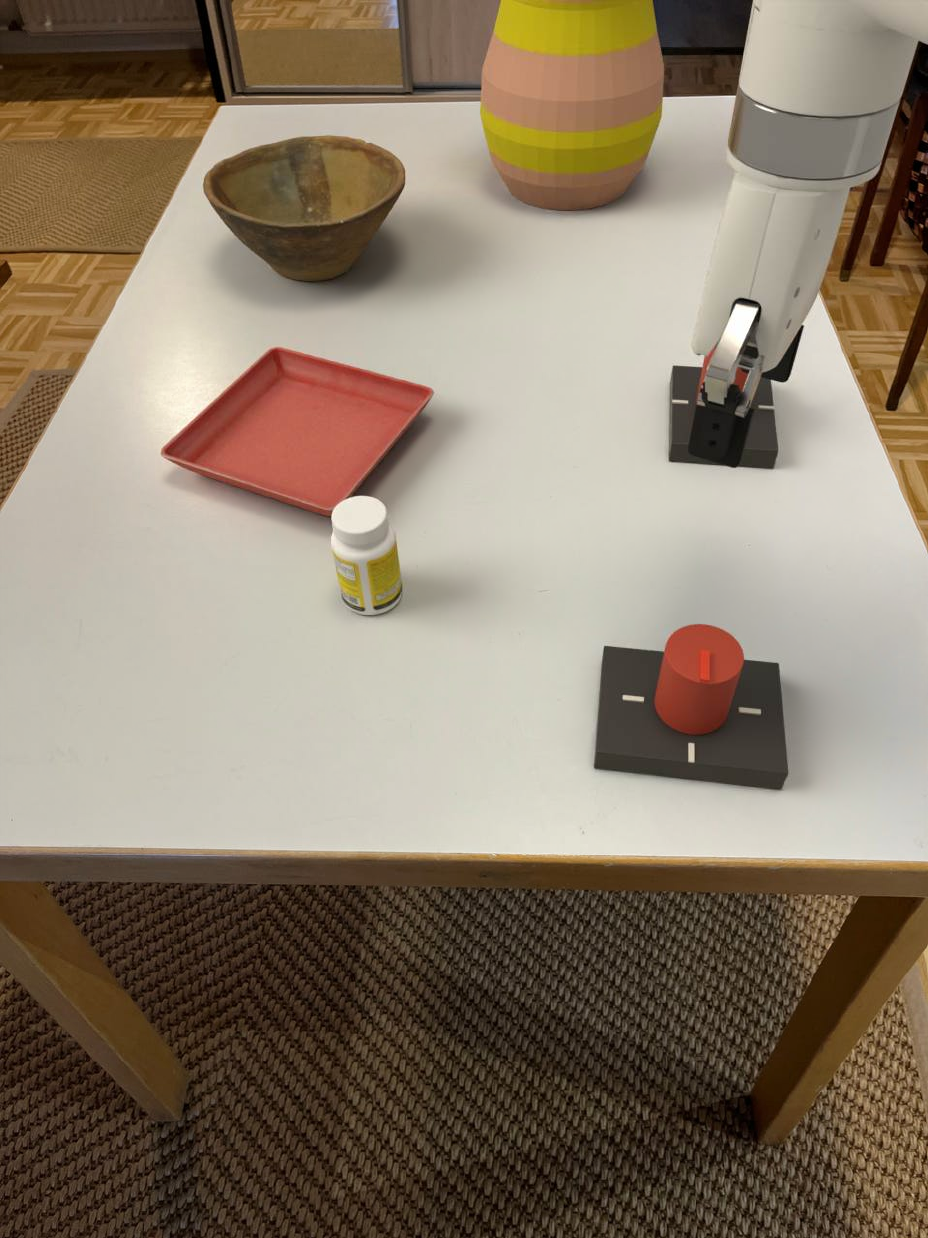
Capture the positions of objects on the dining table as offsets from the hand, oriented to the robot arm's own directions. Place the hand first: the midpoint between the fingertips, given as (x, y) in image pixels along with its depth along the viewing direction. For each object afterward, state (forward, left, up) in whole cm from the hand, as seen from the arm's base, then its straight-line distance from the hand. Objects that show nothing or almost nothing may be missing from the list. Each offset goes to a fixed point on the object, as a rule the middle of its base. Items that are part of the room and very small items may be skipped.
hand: (740, 415), depth 58 cm
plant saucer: (+35, -14, -17) cm, 41 cm away
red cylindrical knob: (-2, -22, -15) cm, 26 cm away
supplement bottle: (+25, +3, -17) cm, 30 cm away
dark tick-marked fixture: (+1, +12, -17) cm, 21 cm away
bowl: (+43, -48, -17) cm, 66 cm away
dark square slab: (-2, -22, -17) cm, 27 cm away
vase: (+16, -71, -17) cm, 74 cm away
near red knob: (+1, +12, -15) cm, 19 cm away
